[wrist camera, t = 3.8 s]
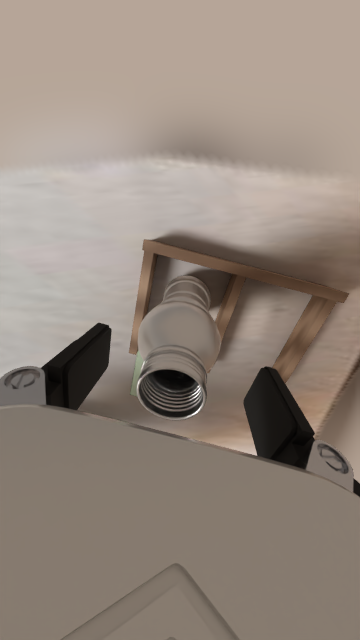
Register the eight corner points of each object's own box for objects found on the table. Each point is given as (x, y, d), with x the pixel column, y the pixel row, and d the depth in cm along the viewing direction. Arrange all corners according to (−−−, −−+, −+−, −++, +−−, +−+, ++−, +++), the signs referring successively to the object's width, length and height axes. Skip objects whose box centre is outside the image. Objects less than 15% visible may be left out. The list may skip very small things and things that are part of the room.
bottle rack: (273, 378, 32) (283, 395, 29) (134, 343, 32) (126, 356, 28) (327, 286, 25) (349, 293, 22) (151, 240, 25) (143, 239, 21)
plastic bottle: (189, 322, 29) (179, 453, 11) (157, 295, 28) (84, 393, 10) (218, 293, 27) (266, 398, 9) (185, 262, 26) (158, 309, 7)
